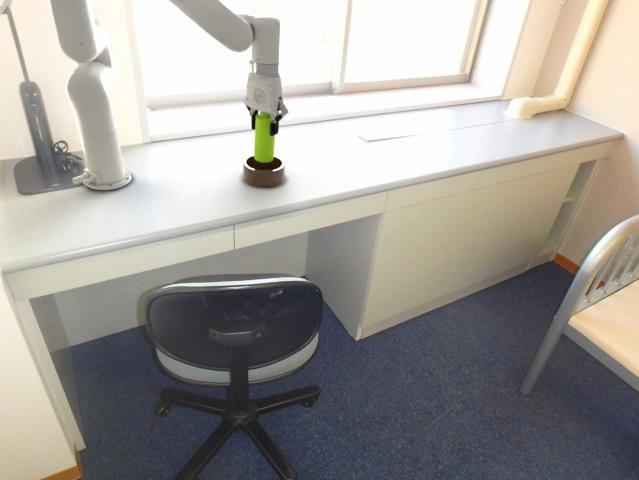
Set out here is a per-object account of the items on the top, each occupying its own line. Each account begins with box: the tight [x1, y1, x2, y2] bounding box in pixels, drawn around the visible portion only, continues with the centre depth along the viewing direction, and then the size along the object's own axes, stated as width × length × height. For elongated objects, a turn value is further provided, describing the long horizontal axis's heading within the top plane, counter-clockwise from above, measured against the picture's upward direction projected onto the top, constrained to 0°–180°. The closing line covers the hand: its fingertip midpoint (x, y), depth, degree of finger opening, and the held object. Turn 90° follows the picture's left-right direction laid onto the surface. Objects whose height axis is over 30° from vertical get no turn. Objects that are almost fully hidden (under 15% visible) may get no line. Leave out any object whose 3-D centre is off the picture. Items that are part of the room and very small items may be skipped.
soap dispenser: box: [253, 111, 276, 163], centre depth 129 cm, size 6×7×20 cm
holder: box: [242, 154, 286, 189], centre depth 137 cm, size 13×13×6 cm
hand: (264, 130), depth 130 cm, fingers closed on soap dispenser, 6 cm apart
